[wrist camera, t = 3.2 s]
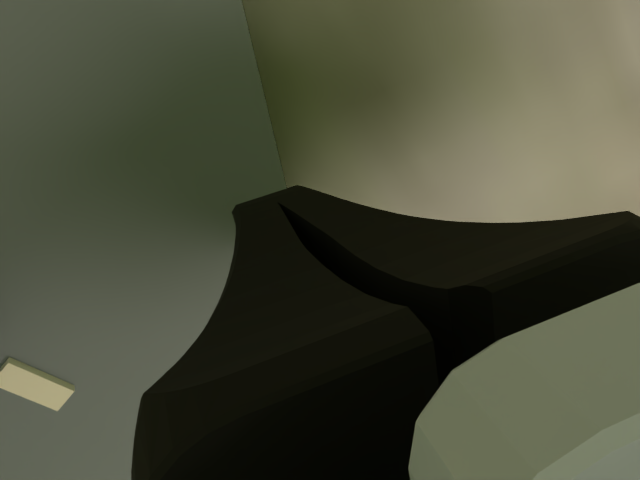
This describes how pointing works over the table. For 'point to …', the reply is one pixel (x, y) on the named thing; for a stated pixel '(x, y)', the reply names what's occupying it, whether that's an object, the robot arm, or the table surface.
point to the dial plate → (115, 212)
